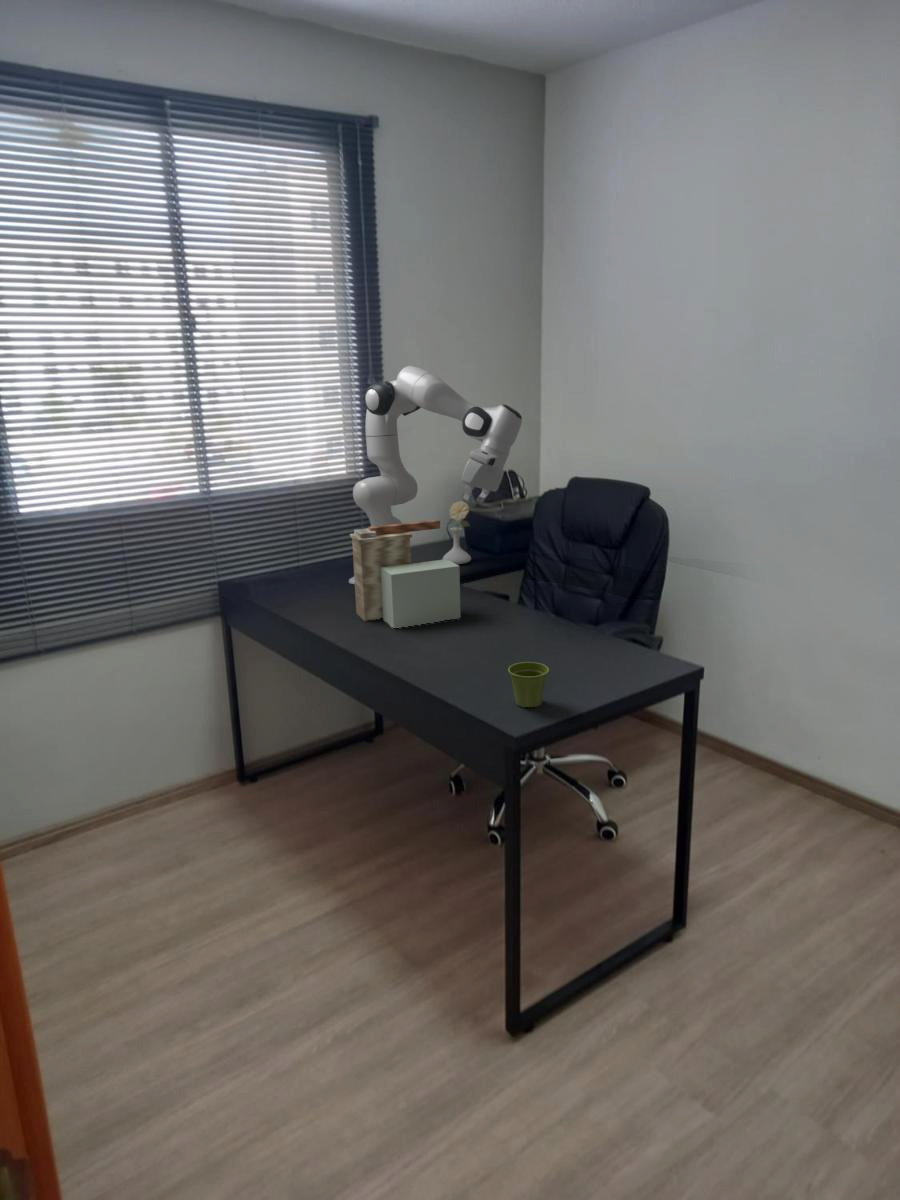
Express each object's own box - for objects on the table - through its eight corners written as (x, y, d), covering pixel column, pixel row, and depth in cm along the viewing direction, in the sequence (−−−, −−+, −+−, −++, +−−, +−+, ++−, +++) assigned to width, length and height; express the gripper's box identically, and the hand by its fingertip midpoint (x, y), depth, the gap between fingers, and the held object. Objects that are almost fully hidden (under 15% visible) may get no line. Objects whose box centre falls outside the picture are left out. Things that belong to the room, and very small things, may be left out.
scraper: (434, 525, 269) (434, 518, 269) (442, 529, 263) (442, 522, 262) (354, 534, 259) (353, 526, 259) (360, 538, 253) (360, 531, 253)
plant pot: (532, 715, 190) (533, 679, 187) (500, 704, 196) (500, 670, 193) (556, 702, 197) (556, 667, 194) (524, 692, 203) (524, 658, 200)
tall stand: (404, 606, 274) (401, 528, 267) (415, 614, 265) (411, 534, 258) (354, 613, 268) (349, 533, 260) (363, 621, 259) (359, 540, 252)
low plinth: (448, 610, 268) (446, 559, 264) (460, 618, 259) (459, 565, 255) (383, 620, 260) (380, 567, 255) (393, 629, 251) (391, 574, 247)
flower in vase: (436, 563, 329) (434, 500, 322) (457, 558, 336) (456, 496, 329) (459, 568, 319) (457, 504, 312) (480, 563, 327) (479, 500, 320)
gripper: (496, 459, 262) (478, 499, 265) (468, 450, 244) (449, 493, 247) (512, 467, 259) (494, 508, 262) (486, 458, 241) (466, 502, 244)
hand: (472, 501), depth 254 cm, fingers open, 8 cm apart
